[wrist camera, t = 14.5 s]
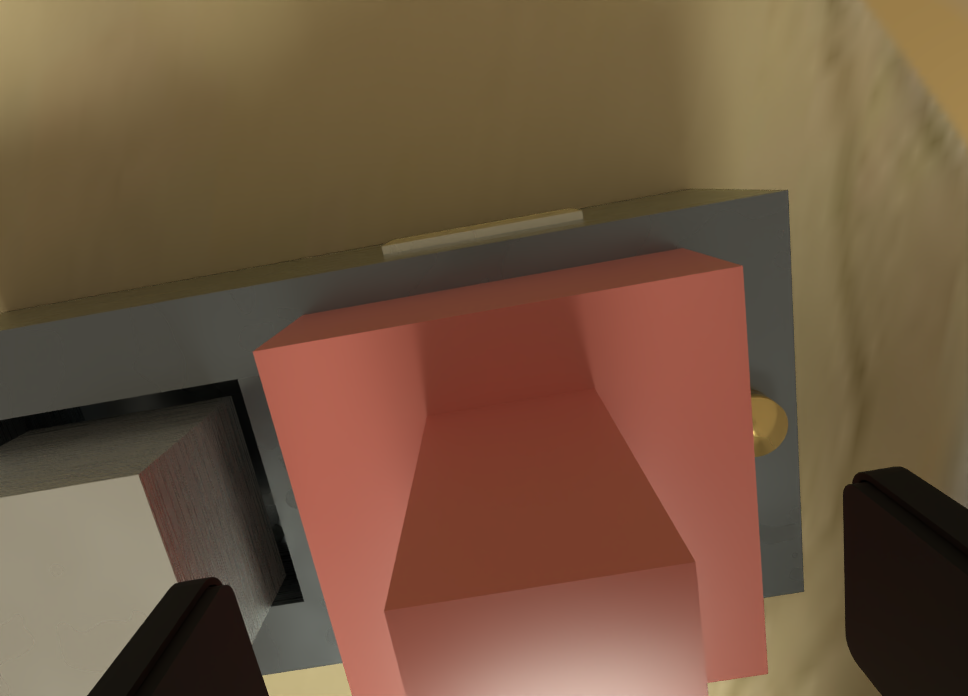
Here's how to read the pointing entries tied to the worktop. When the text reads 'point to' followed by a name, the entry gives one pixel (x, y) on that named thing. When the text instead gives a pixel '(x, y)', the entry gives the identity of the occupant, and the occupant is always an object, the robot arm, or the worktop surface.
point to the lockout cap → (532, 481)
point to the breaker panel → (252, 437)
